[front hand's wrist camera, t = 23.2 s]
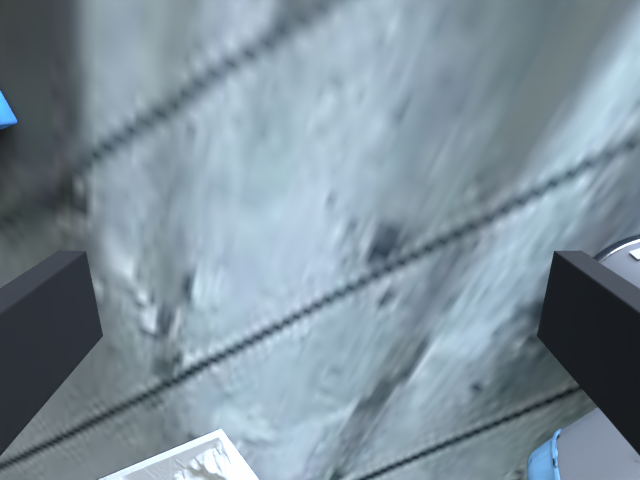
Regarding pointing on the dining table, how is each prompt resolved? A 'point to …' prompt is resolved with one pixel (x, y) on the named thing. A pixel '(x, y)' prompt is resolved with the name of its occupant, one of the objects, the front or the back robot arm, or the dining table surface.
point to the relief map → (192, 462)
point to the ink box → (6, 114)
